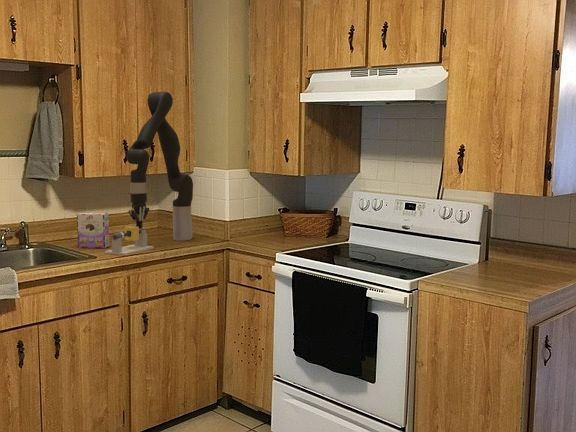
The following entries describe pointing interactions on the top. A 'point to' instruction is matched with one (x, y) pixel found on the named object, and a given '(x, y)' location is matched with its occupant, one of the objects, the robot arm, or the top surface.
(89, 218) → the candy box
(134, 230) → the marker sleeve
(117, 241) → the stand
